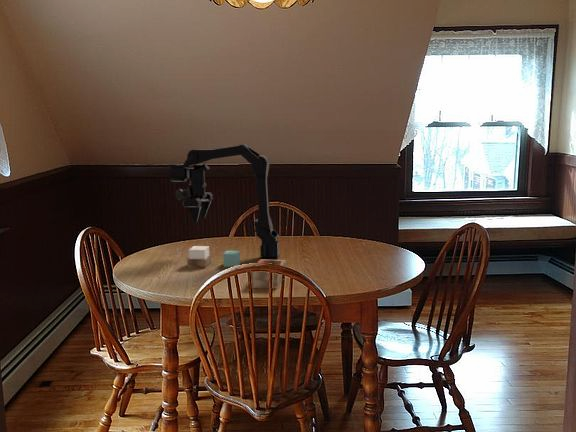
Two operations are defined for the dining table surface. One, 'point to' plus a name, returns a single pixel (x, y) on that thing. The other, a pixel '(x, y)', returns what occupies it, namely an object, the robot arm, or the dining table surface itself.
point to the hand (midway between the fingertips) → (199, 221)
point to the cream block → (199, 252)
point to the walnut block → (199, 262)
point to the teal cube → (231, 258)
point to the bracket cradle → (267, 276)
